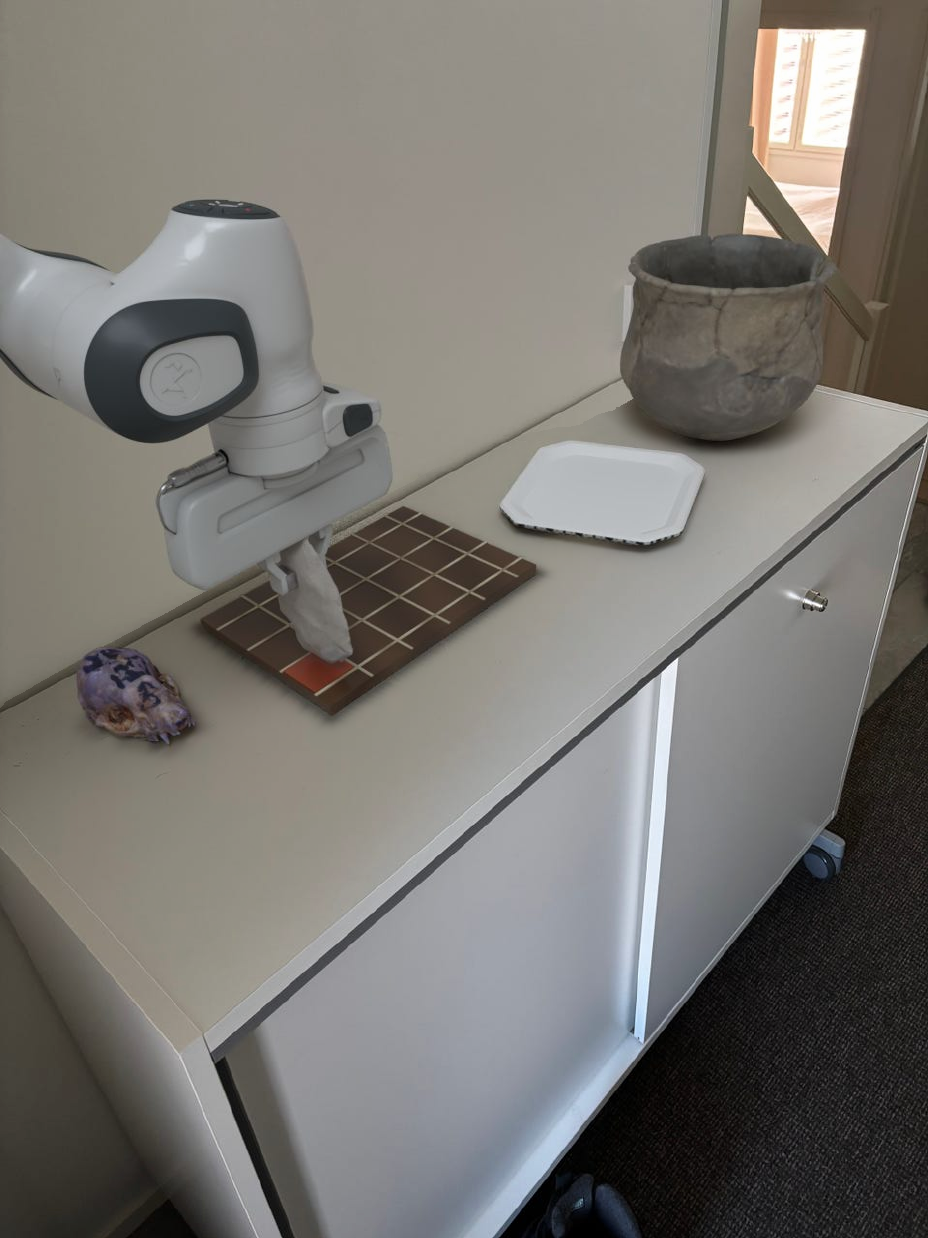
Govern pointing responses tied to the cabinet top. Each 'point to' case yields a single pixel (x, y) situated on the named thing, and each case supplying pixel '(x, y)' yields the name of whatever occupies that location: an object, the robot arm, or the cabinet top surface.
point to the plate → (605, 492)
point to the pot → (724, 332)
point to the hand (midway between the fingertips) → (300, 580)
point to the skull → (130, 695)
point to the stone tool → (315, 605)
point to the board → (376, 605)
